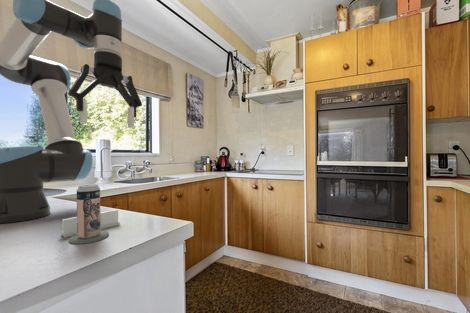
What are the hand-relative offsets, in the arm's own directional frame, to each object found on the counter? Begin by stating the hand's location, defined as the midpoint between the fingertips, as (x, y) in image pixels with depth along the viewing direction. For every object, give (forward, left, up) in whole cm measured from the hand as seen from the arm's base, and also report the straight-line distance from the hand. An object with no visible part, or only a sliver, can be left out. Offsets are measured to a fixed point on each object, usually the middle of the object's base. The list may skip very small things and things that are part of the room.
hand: (109, 125), depth 70 cm
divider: (+6, -7, -29) cm, 30 cm away
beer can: (+12, -10, -28) cm, 32 cm away
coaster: (+12, -10, -29) cm, 33 cm away
